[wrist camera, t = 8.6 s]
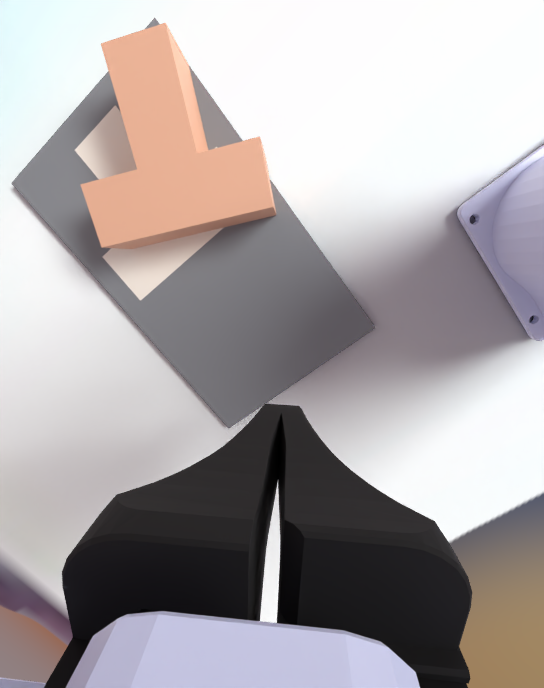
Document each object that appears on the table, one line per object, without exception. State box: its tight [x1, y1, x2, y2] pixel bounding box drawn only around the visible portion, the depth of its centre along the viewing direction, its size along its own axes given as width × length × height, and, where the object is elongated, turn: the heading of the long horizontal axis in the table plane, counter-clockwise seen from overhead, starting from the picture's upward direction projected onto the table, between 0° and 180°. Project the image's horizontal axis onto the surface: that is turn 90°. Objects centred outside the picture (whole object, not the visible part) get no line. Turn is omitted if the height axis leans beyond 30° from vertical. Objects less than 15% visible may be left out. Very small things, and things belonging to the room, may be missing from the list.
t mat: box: [12, 18, 375, 428], centre depth 19 cm, size 20×12×1 cm, turn 38°
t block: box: [80, 23, 276, 249], centre depth 16 cm, size 8×9×3 cm
